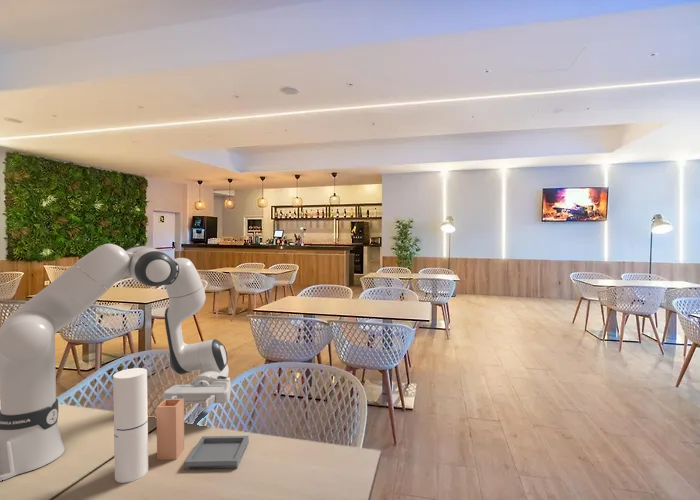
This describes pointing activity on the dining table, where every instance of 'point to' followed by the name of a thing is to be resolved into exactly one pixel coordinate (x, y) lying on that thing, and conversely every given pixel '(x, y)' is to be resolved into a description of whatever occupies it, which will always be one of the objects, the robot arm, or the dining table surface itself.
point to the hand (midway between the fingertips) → (188, 405)
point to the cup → (170, 429)
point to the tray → (217, 452)
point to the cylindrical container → (130, 424)
